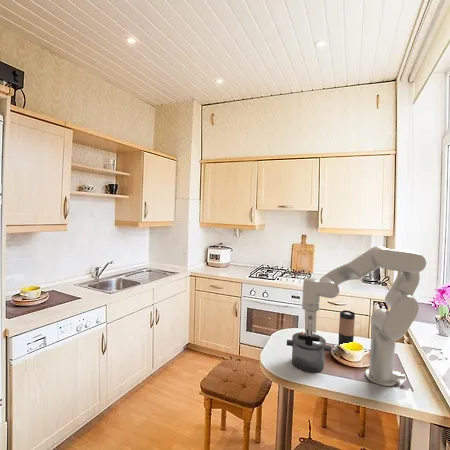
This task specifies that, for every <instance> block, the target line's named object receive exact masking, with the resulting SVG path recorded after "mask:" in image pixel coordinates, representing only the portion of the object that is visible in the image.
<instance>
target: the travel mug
mask: <svg viewBox="0 0 450 450" xmlns="http://www.w3.org/2000/svg"><path fill="white" fill-rule="evenodd" d="M355 320H356V313H355V312H353V311H351V310H345V309H343V310H342V311H340V312H339V324H338V325H339V327H338V343H337V345H340V344H343V343H349V342H353V343H354V336H355Z"/></svg>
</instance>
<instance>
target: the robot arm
mask: <svg viewBox="0 0 450 450" xmlns="http://www.w3.org/2000/svg"><path fill="white" fill-rule="evenodd" d="M426 266H427V260H426V258H425V257H424V255H422V254H421V253H419V252H417V251H416V252H415V251H412V250H410V249H405V248H400V249H396V250H395V249H390V248H386V247H385V246H379V245H376V246H373V247H371V248H369V249H368V250H366V251H365V252H363V253H362V254H361V255H359V256H358V257H356V258H355V259H353V260H351V261H350V262H348V263H345V264H343V265H340V266H339V267H336V268H334V269H332V270H330V271H329V272H328V273H326V274H324V275H323V276H322V277H321V278H320V279H317V278H312V277H307V278H305V279H304V280H303V283H302V284H303V285H302V302H301V303H302V304H301V307H302V309H303V310H304V316H303V317H304V320H303V321H304V332H306V337H305V344H306V345H312V342H313V336H312V333H313V334H316V333H317V315H318V314H317V312H318V311H320V298H321V297H323V298H327V299H334V298H336V297H337V296H339V294H340V287H339V285H341V284H342V283H345V282H347V281H351V280H353V281H354V280H361V279H363V278H366V277H367V276H368V275H370V274H371V273H372V272H374V271H376V270H377V269H379V268H381V269H384V270H390V271H395V272H396V271H397V274H396V275H397V276H396V277H395V280H394V282H393V283H392V285H391V287H390V289H389V290H388V292H387V293H386V295H385V298H384V302H385V304H386V305H387V307H388V308H389V309H390V310H388V309H386V308H380V307H379V308H377V309H375V310H374V311H373V312H372V314H371V316H370V328H371V329H370V330H371V338H370V341H371V342H370V353H369V368H368V369H366V370H365V374H364V375H365V377H366V378H367V379H368V380H369V381H371V382H372V383H374V384H377V385H379V386H382V387H392V386H395V385H396V384H397V380H398V379H399V380H403V381H405V380H406V374H401V372H400V371H395V370H394V365H395V350H396V341H398V340H400V339H402V338H404V336H405V335H406V333H407V332H408V330H409V329H410V327H411V326H412V324H413V322H414V320H415V319H416V317H417V316H418V313H419V310H420V308H419V303H418V300H417V299H416V298H415V297H413V296H414V294H415V292H416V290H417V288H418V286H419V284H420V279H421V278H420V277H421V276H420V272H422V271H424V269H426Z"/></svg>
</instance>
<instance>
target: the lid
mask: <svg viewBox="0 0 450 450" xmlns="http://www.w3.org/2000/svg"><path fill="white" fill-rule="evenodd" d="M312 336H313V342H312V345H306V344H305V337H306V331H304V332H303V331H300V332H296V333H293V335H292V336H291V340H292V342H293V343H294V344H295V345H297V346H299V347H301V348H304V349H309V350H319V349H323V348H324V347H325V345H326V341H327V340H326V339H325V338H324V337H323V336H320V335H319V334H316V333H312Z"/></svg>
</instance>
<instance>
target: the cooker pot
mask: <svg viewBox="0 0 450 450" xmlns="http://www.w3.org/2000/svg"><path fill="white" fill-rule="evenodd" d="M286 346H290V347H292V349H291V350H292V353H291V365H292V366H293V368H295V369H296V370H298V371H300V372H303V373H306V374H307V373H308V374H317V373H321V372H322V371H324V366H325V365H324V364H325V352H329V353H331V352H332V347H331V345H325V347H324V348H323V349H319V350H309V349H304V348H301V347H299V346H297V345H295V344H294V343H293V342H292V339H286Z"/></svg>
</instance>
